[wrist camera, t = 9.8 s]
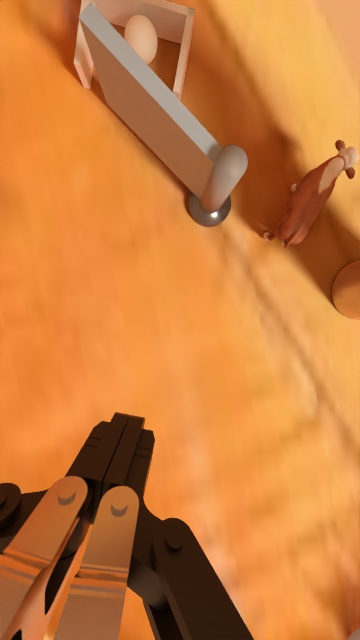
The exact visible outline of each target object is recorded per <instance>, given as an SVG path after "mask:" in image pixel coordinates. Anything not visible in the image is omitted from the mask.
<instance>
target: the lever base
mask: <svg viewBox="0 0 360 640" xmlns="http://www.w3.org/2000/svg"><path fill="white" fill-rule="evenodd" d="M230 208H231V198H230V195H229V196H228V197H227V198H226V200H225V201H224V203H223V204H222V206H221V207H220V208H219V210H218V211H217V212H215V213H213V214H207V213H205V212H204V211H203V210H202V209H201V207H200V200H199V199H198V198H197V197H196V196H195V195H194V194H193V193H192V192H191V194H190V197H189V201H188V209H189V213H190V215H191V217H192V218H193V220H194V221H195V222H196V223H198V224H199V225H201V226H204V227H213V226H216V225H218V224H220V223H221V222H222V221H223V220H224V219H225V218H226V217H227V215H228V214H229V211H230Z"/></svg>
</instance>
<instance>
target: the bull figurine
mask: <svg viewBox="0 0 360 640" xmlns="http://www.w3.org/2000/svg"><path fill="white" fill-rule="evenodd" d="M335 146H336V148H337V150H338V151H339V153H338V155H337V156H334V157H332V158H330V159H328V160H327V161H326V162H324V163H323V164H321V165H320V166H319V167H317V168H315V169H313V170H311V171H310V172H309V173H307V174H306V176H305V177H304V179H303V180H302V181H301V182H300V183H298V184H295V183H294V184H292V185H291V191H292V192H293V195H292V196H291V197H290V199H289V200H288V202H287V205H286V213H285V215H284V216H283V217H282V218H281V220H280V222H279V225H278V227H277V228H276V229H275V230H274V231H273V232H272V233H269V232H265V233H264V239H265V240H268V239H269V240H272V239H273V238H275V237H277V238H279V239H281V240H283V241H282V242H281V243H282V245H283V246H284V247H287V246H288V245H290V244H293V245H295V244H298V243H300V242H301V241H303V240H304V239H305V237H306V236H307V233H308V231H309V229H310V228H311V226H312V225H313V224H314V222H315V220H316V219H317V217H318V216H319V214H320V212H321V210H322V208H323V207H324V205H325V203H326V201H327V199H328V198H329V196H330V195H331V193H332V191H333V188H334V186H335V181H336V179H337V177H338V176H339V175H340V173H341V171H344V170H345V171H346V174H347V176H348V178H349V179H352V178H353V177H354V175H355V170H354V169H353V168H352V166H353V165H355V164H356V163H357V162H358V160H359V155H358V153H357V149H356V148H355V147H348V148H347V149H346V148H345V143H344V142H343V141H341V140H337V141H336V143H335Z"/></svg>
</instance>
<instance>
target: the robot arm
mask: <svg viewBox="0 0 360 640" xmlns="http://www.w3.org/2000/svg"><path fill="white" fill-rule="evenodd" d="M332 299H333V303H334V305H335V307H336V309H337V310H338V311H339V312H340V313H341V314H342V315H344V316H346V317H348V318H352V319H358V320H360V260H358V261H354V262H351V263H349V264H348V265H346V266H345V267H343V268H342V270H341V271H340V272H339V273H338V274H337V276H336V278H335V280H334V283H333V286H332ZM144 423H145V418H143V417H138V416H133V415H131V416H130V415H128V414H123V413H118V412H116V413H115V414H114V416H113V418H112V420H111V422H105V421H102V422H100V423H99V424H98V425H97V426H95V427H94V428H93V430H92V432H91V433H90V435H89V437H88V438H87V440H86V442H85V443H84V446H83V447H82V448H81V450H80V452H79V454H78V455H77V457H76V459H75V460H74V462H73V464H72V465H71V467H70V469H69V471H68V472H67V474H66V475H65V477H64V478H62V479H60V480H58V481H57V482H55V483H54V484H53V485H52V486H51V487H50V488H49V489H47V490H44V491H40V492H32V493H24V494H21V491H20V489H19V487H18V486H17V485H15V484H12V483H2V484H0V640H43V639H44V635H45V631H46V628H47V625H48V622H49V620H50V617H51V615H52V613H53V611H54V609H55V606H56V604H57V602H58V600H59V598H60V595H61V593H62V591H63V589H64V587H65V584H66V582H67V580H68V578H69V576H70V573H71V571H72V569H73V567H74V565H75V563H76V560H77V558H78V556H79V554H80V552H81V549H82V547H83V542H84V539H85V536H86V534H87V531H88V528H89V526H90V524H93V527H92V531H91V534H90V537H89V540H88V543H87V547H86V550H85V553H84V556H83V559H82V563H81V566H80V569H79V571H78V573H77V574H76V575H75V577H74V579H73V582H72V584H71V587H70V590H69V593H68V596H67V599H66V602H65V605H64V608H63V611H62V615H61V618H60V621H59V624H58V627H57V630H56V633H55V636H54V639H53V640H118V637H119V631H120V624H121V618H122V612H123V605H124V599H125V593H126V586H127V587H129V588H130V589H131V590H132V591H134V592H135V593H136V594H137V595H139V596H140V597H141V598H142V599H143V604H144V607H145V610H146V613H147V616H148V619H149V622H150V625H151V628H152V631H153V634H154V637H155V640H254V639H253V637H252V635H251V633H250V632H249V630H248V628H247V627H246V625H245V623H244V621H243V620H242V618H241V616H240V614H239V613H238V611H237V609H236V607H235V606H234V604H233V602H232V600H231V599H230V597H229V595H228V593H227V592H226V590H225V588H224V586H223V585H222V583H221V581H220V579H219V578H218V576H217V574H216V572H215V571H214V569H213V567H212V566H211V564H210V562H209V560H208V559H207V557H206V555H205V553H204V552H203V550H202V548H201V546H200V545H199V543H198V541H197V539H196V538H195V536H194V534H193V532H192V531H191V529H190V528H189V526H188V525H187V524H186V523H185V522H184V521H182V520H180V519H177V518H168V519H165V520H163V521H162V520H160V519H159V518H157V517H156V516H154V515H153V514H152V513H151V512H150V511H149V510H148V509H147V507H146V505H145V503H144V500H143V496H144V492H145V487H146V483H147V478H148V474H149V469H150V465H151V459H152V454H153V448H154V442H155V438H154V434H153V431H151V430H146V429H144Z"/></svg>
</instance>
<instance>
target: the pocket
mask: <svg viewBox="0 0 360 640" xmlns="http://www.w3.org/2000/svg"><path fill="white" fill-rule="evenodd" d="M90 2H91V3H92V4H93V5H94V6H95V8H96V9H97V10H98V11H99V12H100V13H101V14H102V15H103V16H104V17H105V19H106V20H107V21H108V22H109V23H112V24H115V25H118V26H122V27H125V28H126V25H127V23H128V21H129V20H130V18H132V17H133V16H135V15H143V16H145V17H147V18H148V19H149V20H150V21H151V23H152V24H153V26H154V28H155V31H156V34H157V37H158V38H162V39H165V40H168V41H172V42H175V43H179V44H181V50H180V55H179V61H178V66H177V72H176V77H175V83H174V88H173V94H174V95H175V96H176V97H177V98H178V99H179V100H181V95H182V90H183V84H184V79H185V73H186V68H187V63H188V57H189V52H190V46H191V41H192V32H193V22H194V13H195V9H192V8H189V7H186V6H182V5H179V4H176V3H173V2H170V1H166V0H82V2H81V9H80V14H81V13H82V11H83V10H84V9H85V8H86V6H87V5H88V4H89V3H90ZM74 65H75V67H76V70H77V72H78V75H79V77H80V79H81V82H82V84H83V87H84V88H87V89H90V87H91V80H92V72H93V65H94V63H93V60H92V57H91V54H90V51H89V48H88V45H87V42H86V39H85V36H84V33H83V30H82V27H81V24H80V21H79V25H78V33H77V41H76V49H75V56H74Z"/></svg>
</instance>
